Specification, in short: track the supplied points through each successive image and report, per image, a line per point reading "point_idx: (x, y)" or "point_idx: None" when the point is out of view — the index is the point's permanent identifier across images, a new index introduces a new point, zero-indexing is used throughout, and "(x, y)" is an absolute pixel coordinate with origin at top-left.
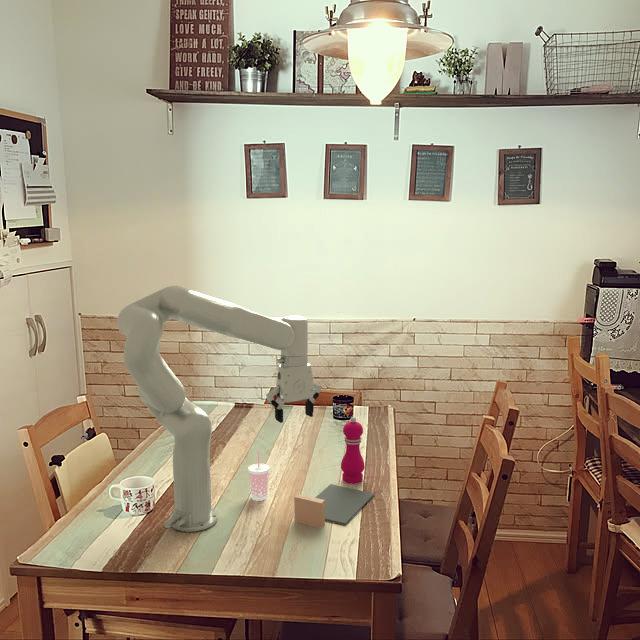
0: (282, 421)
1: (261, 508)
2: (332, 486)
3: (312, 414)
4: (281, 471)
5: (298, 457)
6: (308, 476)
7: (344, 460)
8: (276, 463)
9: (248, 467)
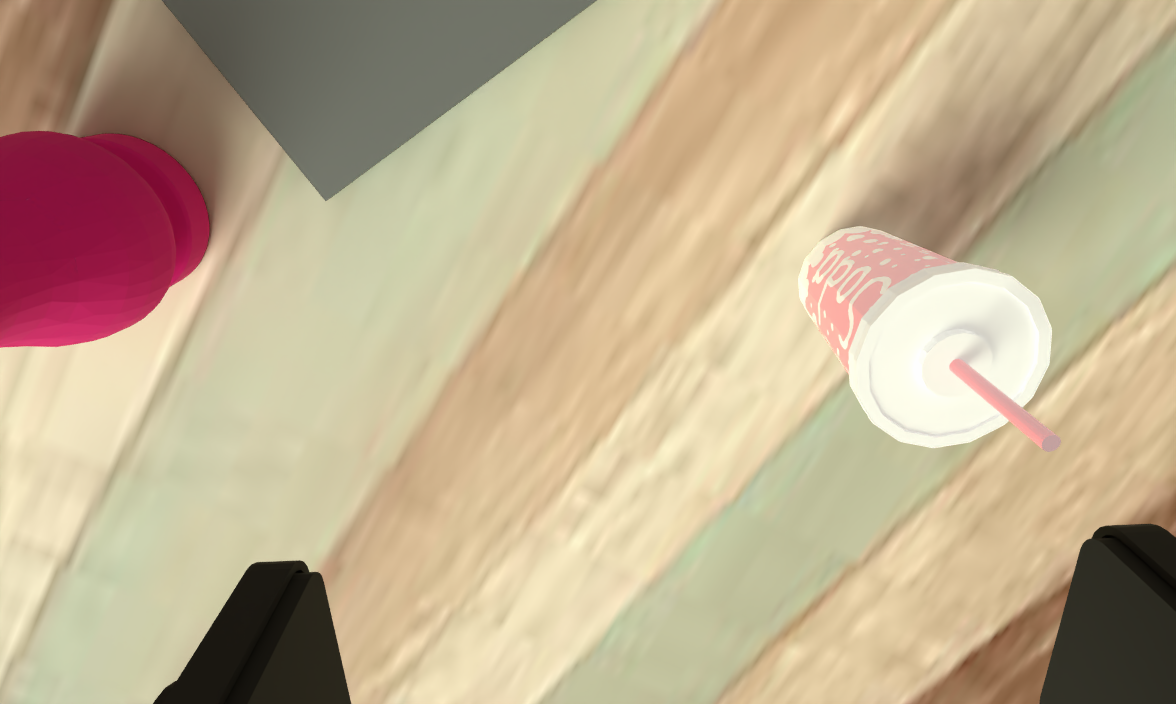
0: (1137, 532)
1: (934, 114)
2: (329, 155)
3: (242, 593)
4: (542, 537)
5: (359, 656)
6: (414, 403)
7: (105, 254)
8: (519, 639)
9: (1021, 406)
